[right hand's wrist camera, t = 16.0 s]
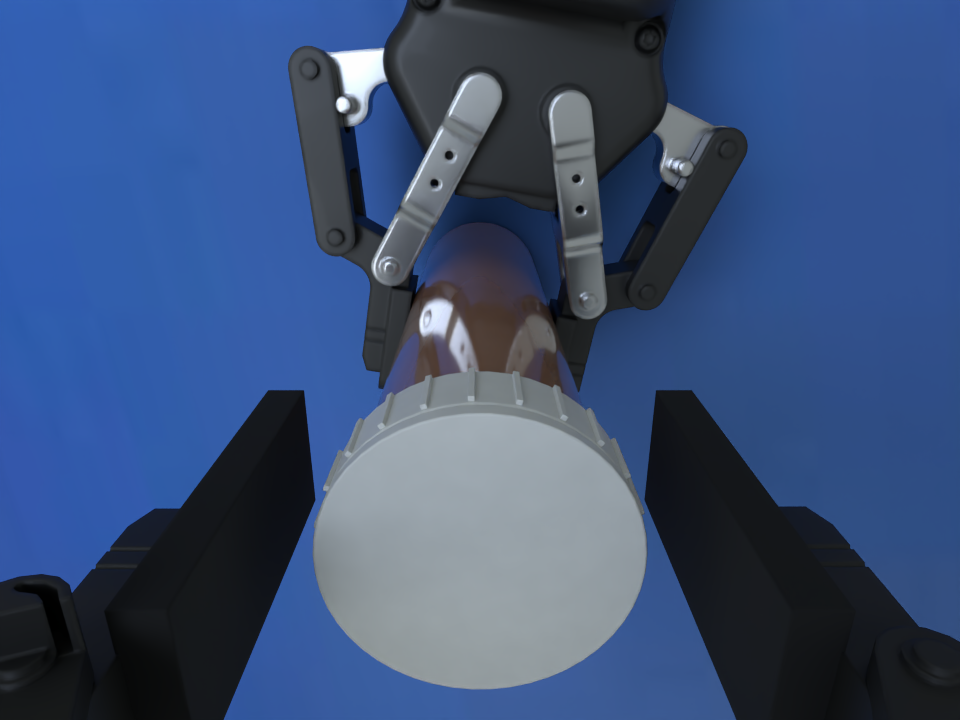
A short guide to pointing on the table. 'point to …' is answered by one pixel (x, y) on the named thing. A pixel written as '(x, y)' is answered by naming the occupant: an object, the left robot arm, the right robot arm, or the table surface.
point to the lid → (480, 532)
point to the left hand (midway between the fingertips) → (468, 392)
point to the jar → (480, 315)
